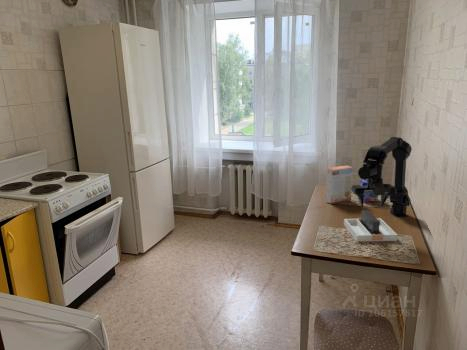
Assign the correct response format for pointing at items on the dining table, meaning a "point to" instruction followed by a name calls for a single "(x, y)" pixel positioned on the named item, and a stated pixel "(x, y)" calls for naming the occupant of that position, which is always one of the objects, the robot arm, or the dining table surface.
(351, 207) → the dining table surface
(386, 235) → the slot rack
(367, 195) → the ink cartridge box
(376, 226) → the panel
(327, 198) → the cracker box
